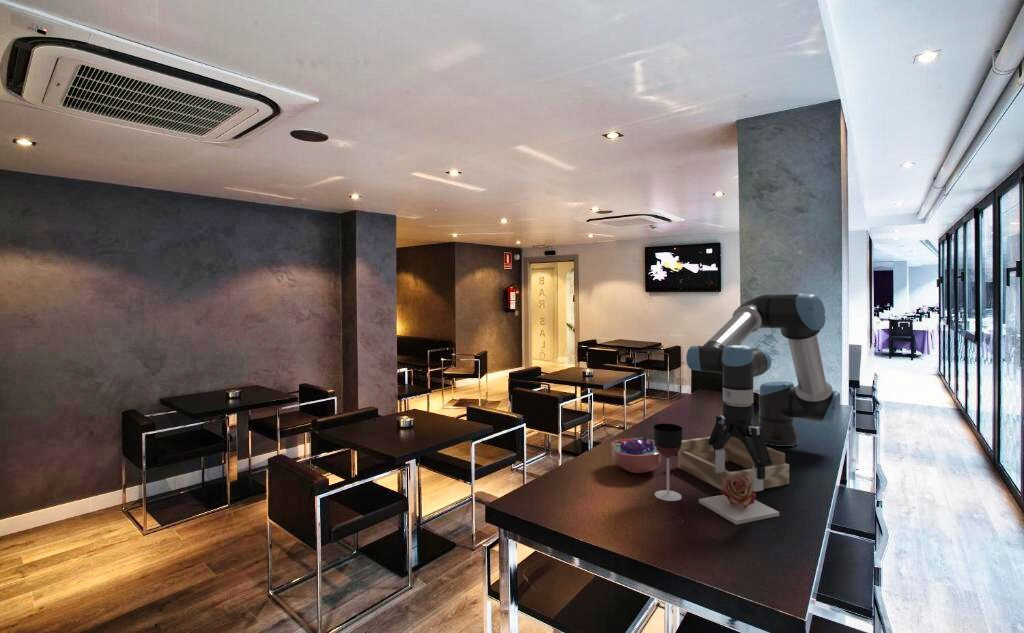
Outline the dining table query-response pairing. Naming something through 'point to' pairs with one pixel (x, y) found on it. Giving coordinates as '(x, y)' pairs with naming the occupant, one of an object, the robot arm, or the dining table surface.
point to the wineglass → (668, 452)
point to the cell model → (636, 454)
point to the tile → (738, 510)
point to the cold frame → (701, 461)
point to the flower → (738, 490)
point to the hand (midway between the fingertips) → (738, 480)
